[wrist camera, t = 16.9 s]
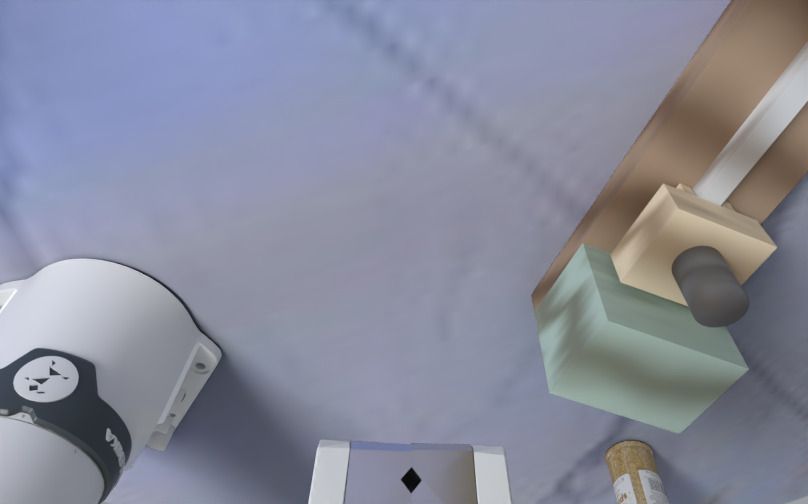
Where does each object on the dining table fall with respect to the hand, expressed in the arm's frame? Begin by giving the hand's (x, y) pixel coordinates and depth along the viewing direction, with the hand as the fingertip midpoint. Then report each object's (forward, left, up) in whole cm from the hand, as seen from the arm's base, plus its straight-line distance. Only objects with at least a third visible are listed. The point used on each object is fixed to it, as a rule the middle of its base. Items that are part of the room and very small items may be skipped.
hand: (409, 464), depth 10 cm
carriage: (-7, -21, -29) cm, 36 cm away
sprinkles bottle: (-32, -34, -31) cm, 56 cm away
